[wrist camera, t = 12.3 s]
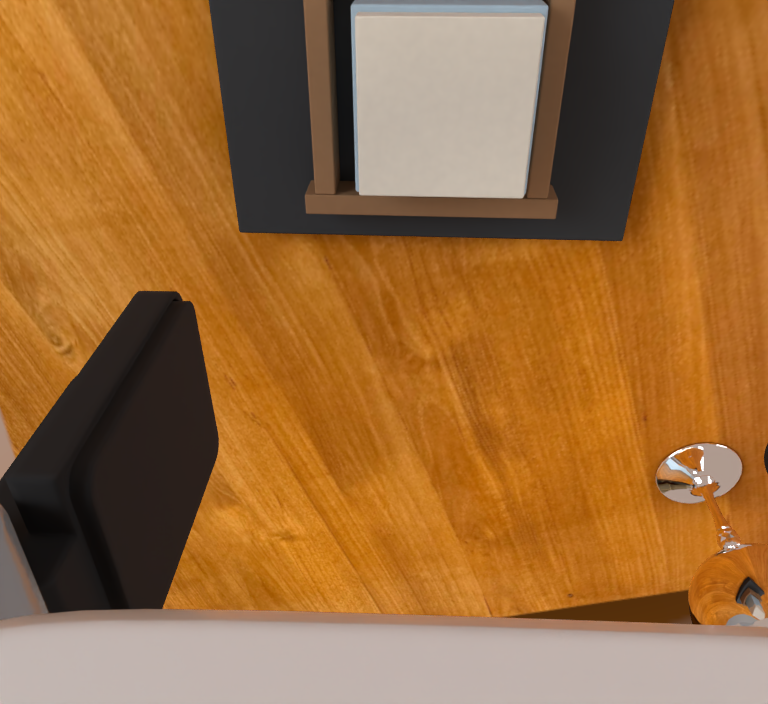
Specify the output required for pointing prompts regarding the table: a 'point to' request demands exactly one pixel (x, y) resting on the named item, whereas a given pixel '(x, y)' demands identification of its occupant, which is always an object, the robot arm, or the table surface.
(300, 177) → the base pad
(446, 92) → the upper pad
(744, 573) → the wineglass
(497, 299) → the table surface
